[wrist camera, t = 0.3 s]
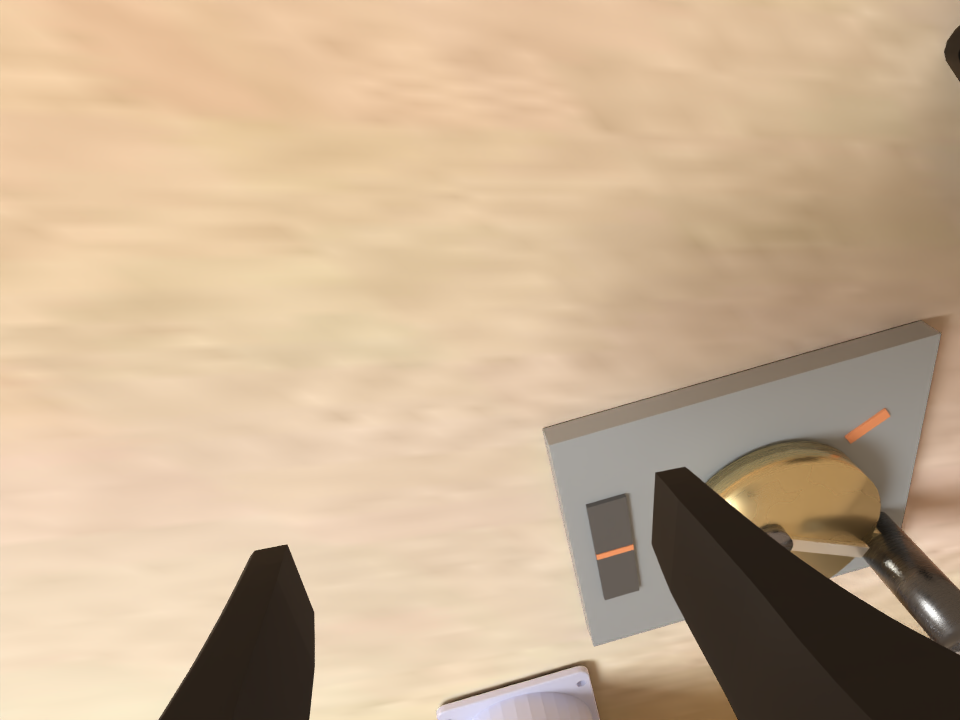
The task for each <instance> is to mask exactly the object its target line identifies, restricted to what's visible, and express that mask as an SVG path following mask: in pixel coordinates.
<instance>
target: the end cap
mask: <svg viewBox="0 0 960 720" xmlns="http://www.w3.org/2000/svg"><path fill="white" fill-rule="evenodd" d="M944 53H945V58H946V61H947V63H948V64H949V66H950V67H951V69H952V70H953V72H954V73H955V75H956V77H957V78H958V80H959V81H960V26H959V27H958V28H957V29H956V30H955V31H954V32H953V34H952V35H951V36H950V38H949V39H948V41H947V44H946V47H945V51H944Z"/></svg>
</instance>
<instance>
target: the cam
mask: <svg viewBox="0 0 960 720" xmlns="http://www.w3.org/2000/svg"><path fill="white" fill-rule="evenodd" d="M706 484H707V485H708V486H709V487H710V488H712V489H713V490H714V491H715V492H716V493H717V494H719V495H720V496H721V497H722V498H723V499H725V500H726V501H727V502H728V503H729V504H731V505H732V506H733V507H734V508H735V509H737V510H738V511H739V512H740V513H742V514H743V515H744V516H745V517H746V518H748V519H749V520H750V521H751V522H753V523H754V524H755V525H757V526H758V527H759V528H760V529H762V530H763V531H764V532H766V533H767V534H768V535H769V536H771V537H772V538H773V539H775V540H776V541H777V542H779V543H780V544H781V545H782V546H784V547H785V548H786V549H788V550H789V551H790V552H792V553H793V554H795V555H796V556H797V557H799V558H800V559H801V560H803V561H804V562H806V563H807V564H808V565H810V566H811V567H813V568H814V569H816V570H817V571H818V572H820V573H821V574H823V575H824V576H826V577H827V578H828V579H829V578H831V577H832V576H834V575H835V574H837V573H838V572H839V571H840V570H842V569H843V568H844V567H845V566H847V565H848V564H849V563H850V562H851V561H852V560H853V559H854V558H855V557H860V558H862V557H863V558H864V560H865V561H866V562H867V563H868V564H869V566H870V567H871V568H872V569H873V570H874V571H875V573H876V574H877V575H878V576H879V577H880V579H881V580H882V581H883V582H884V583H885V584H886V586H887V587H888V588H889V589H890V590H891V592H892V593H893V594H894V595H895V596H896V597H897V599H898V600H899V601H900V602H901V603H902V605H903V606H904V607H905V608H906V609H907V610H908V612H909V613H910V614H911V615H912V616H913V618H914V619H915V620H916V621H917V622H918V623H919V625H920V626H921V627H922V628H923V629H924V631H925V632H926V633H927V634H928V635H929V637H930V638H931V639H932V640H933V641H935V642H936V643H938V644H940V645H942V646H944V647H946V648H948V649H950V650H952V651H953V652H955V653H956V652H960V590H959V589H958V588H957V587H956V586H955V585H954V584H953V583H952V582H951V581H950V580H949V579H948V578H947V576H946V575H945V574H944V573H943V572H942V571H941V570H940V569H939V568H938V567H937V566H936V565H935V564H934V563H933V562H932V561H931V560H930V559H929V558H928V557H927V556H926V555H925V553H924V552H923V551H922V550H921V549H920V548H919V547H918V546H917V545H916V544H915V543H914V542H913V541H912V540H911V539H910V538H909V537H908V536H907V535H906V534H905V533H904V531H903V530H902V529H901V528H900V527H899V526H898V525H897V524H896V523H895V522H894V521H893V520H892V519H891V518H890V517H889V516H888V515H887V514H886V513H884V512H880V509H881V502H880V496H879V493H878V490H877V488H876V486H875V485H874V483H873V482H872V481H871V480H870V479H869V478H868V477H867V476H866V475H865V474H864V473H863V472H862V471H861V470H860V469H859V468H858V467H857V466H856V465H855V464H854V463H853V462H852V461H851V460H850V459H849V458H848V457H847V456H846V455H845V454H844V453H843V452H841V451H840V450H838V449H837V448H834V447H832V446H830V445H827V444H823V443H818V442H809V441H798V442H788V443H781V444H777V445H773V446H769V447H766V448H763V449H760V450H757V451H755V452H753V453H750V454H748V455H746V456H744V457H742V458H740V459H738V460H736V461H734V462H733V463H731V464H729V465H728V466H726V467H725V468H723V469H722V470H720V471H719V472H718V473H717V474H715V475H714V476H713V477H712V478H710V479H709V480H708V481H707V482H706Z"/></svg>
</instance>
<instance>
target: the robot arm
mask: <svg viewBox="0 0 960 720" xmlns="http://www.w3.org/2000/svg"><path fill="white" fill-rule="evenodd" d="M651 544H652V547H653V550H654V552H655V555H656V557H657V560H658V563H659V565H660V568H661V570H662V573H663V575H664V578H665V580H666V583H667V585H668V587H669V590H670V592H671V594H672V596H673V598H674V600H675V602H676V604H677V606H678V608H679V609H680V611H681V613H682V615H683V617H684V619H685V621H686V623H687V624H688V626H689V628H690V630H691V632H692V634H693V636H694V637H695V639H696V641H697V643H698V645H699V647H700V649H701V650H702V652H703V654H704V656H705V658H706V660H707V661H708V663H709V665H710V667H711V669H712V671H713V673H714V674H715V676H716V678H717V680H718V682H719V684H720V685H721V687H722V689H723V691H724V693H725V695H726V697H727V698H728V701H729V703H730V705H731V707H732V709H733V711H734V713H735V715H736V717H737V719H738V720H960V655H959V654H957V653H955V652H953V651H952V650H950V649H948V648H946V647H944V646H942V645H940V644H938V643H936V642H935V641H933V640H931V639H929V638H927V637H925V636H923V635H921V634H919V633H918V632H916V631H914V630H912V629H910V628H908V627H906V626H905V625H903V624H901V623H899V622H898V621H896V620H894V619H892V618H891V617H889V616H887V615H886V614H884V613H882V612H881V611H879V610H877V609H876V608H874V607H872V606H871V605H869V604H868V603H866V602H864V601H863V600H861V599H859V598H858V597H856V596H854V595H853V594H851V593H850V592H848V591H847V590H845V589H843V588H842V587H840V586H839V585H837V584H836V583H834V582H833V581H831V580H830V579H828V578H827V577H826V576H824V575H823V574H821V573H820V572H818V571H817V570H816V569H814V568H813V567H811V566H810V565H808V564H807V563H806V562H804V561H803V560H801V559H800V558H799V557H797V556H796V555H795V554H793V553H792V552H790V551H789V550H788V549H786V548H785V547H784V546H782V545H781V544H780V543H779V542H777V541H776V540H775V539H773V538H772V537H771V536H769V535H768V534H767V533H766V532H764V531H763V530H762V529H760V528H759V527H758V526H757V525H755V524H754V523H753V522H751V521H750V520H749V519H748V518H746V517H745V516H744V515H743V514H742V513H740V512H739V511H738V510H737V509H735V508H734V507H733V506H732V505H731V504H729V503H728V502H727V501H726V500H725V499H723V498H722V497H721V496H720V495H719V494H717V493H716V492H715V491H714V490H713V489H712V488H710V487H709V486H708V485H707V484H706V483H704V482H703V481H702V480H701V479H700V478H699V477H697V476H696V475H695V474H694V473H693V472H691V471H690V470H689V469H688V468H686V467H681V468H675V469H670V470H665V471H660V472H655V486H654V504H653V523H652V541H651ZM314 668H315V632H314V611H313V608H312V606H311V603H310V601H309V598H308V596H307V593H306V591H305V588H304V585H303V583H302V580H301V578H300V575H299V573H298V570H297V568H296V565H295V563H294V560H293V557H292V555H291V552H290V550H289V547H288V545H282V546H276V547H271V548H266V549H261V550H256V551H254V552H253V554H252V555H251V556H250V558H249V560H248V562H247V564H246V566H245V568H244V570H243V572H242V574H241V576H240V578H239V580H238V582H237V584H236V586H235V588H234V590H233V592H232V594H231V596H230V598H229V600H228V602H227V604H226V606H225V608H224V609H223V611H222V613H221V615H220V617H219V619H218V621H217V623H216V624H215V626H214V628H213V630H212V632H211V633H210V635H209V637H208V639H207V640H206V642H205V644H204V646H203V648H202V649H201V651H200V653H199V655H198V656H197V658H196V660H195V662H194V663H193V665H192V667H191V668H190V670H189V672H188V673H187V675H186V677H185V678H184V680H183V681H182V683H181V685H180V686H179V688H178V689H177V691H176V693H175V694H174V696H173V698H172V699H171V701H170V702H169V704H168V706H167V707H166V709H165V710H164V712H163V714H162V715H161V717H160V718H159V720H309V716H310V707H311V697H312V688H313V678H314ZM436 712H437V719H438V720H600V717H599V713H598V709H597V705H596V701H595V697H594V692H593V688H592V684H591V680H590V676H589V672H588V669H587V668H586V667H584V666H576V667H572V668H569V669H565V670H562V671H559V672H555V673H552V674H548V675H545V676H541V677H538V678H534V679H531V680H528V681H524V682H521V683H517V684H514V685H510V686H507V687H504V688H500V689H497V690H493V691H490V692H486V693H483V694H479V695H476V696H473V697H469V698H466V699H462V700H459V701H455V702H452V703H449V704H445V705H442V706H440V707H439V708H438V709H437V711H436Z"/></svg>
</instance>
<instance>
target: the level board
mask: <svg viewBox="0 0 960 720" xmlns="http://www.w3.org/2000/svg"><path fill="white" fill-rule="evenodd" d="M940 337H941V333H940V332H939V331H937V330H935V329H934V328H932V327H931V326H929V325H928V324H926V323H925V322H923V321H917V322H914V323H910V324H907V325H903V326H900V327H896V328H893V329H889V330H886V331H882V332H879V333H875V334H872V335H868V336H865V337H861V338H858V339H855V340H851V341H848V342H844V343H841V344H837V345H834V346H830V347H827V348H823V349H820V350H816V351H813V352H809V353H806V354H802V355H799V356H795V357H792V358H788V359H785V360H781V361H778V362H774V363H771V364H767V365H764V366H760V367H757V368H753V369H750V370H746V371H743V372H739V373H736V374H732V375H729V376H725V377H722V378H718V379H715V380H711V381H708V382H704V383H701V384H697V385H694V386H690V387H687V388H683V389H680V390H676V391H673V392H669V393H666V394H662V395H659V396H655V397H652V398H648V399H645V400H641V401H638V402H634V403H631V404H627V405H624V406H620V407H617V408H613V409H610V410H606V411H603V412H599V413H596V414H592V415H589V416H585V417H582V418H578V419H575V420H571V421H568V422H564V423H561V424H557V425H554V426H550V427H547V428H543V433H544V438H545V442H546V446H547V451H548V455H549V460H550V464H551V468H552V473H553V477H554V482H555V486H556V491H557V495H558V499H559V504H560V508H561V513H562V517H563V521H564V526H565V530H566V535H567V539H568V543H569V548H570V552H571V557H572V561H573V566H574V570H575V574H576V579H577V583H578V588H579V592H580V596H581V601H582V605H583V610H584V614H585V619H586V623H587V627H588V631H589V633H590V636H591V639H592V642H593V645H594V646H598V645H601V644H605V643H608V642H611V641H615V640H618V639H622V638H625V637H629V636H632V635H636V634H639V633H642V632H646V631H649V630H653V629H656V628H660V627H663V626H667V625H670V624H673V623H677V622H680V621H684V620H685V619H684V617H683V615H682V613H681V611H680V609H679V608H678V606H677V604H676V602H675V600H674V598H673V596H672V594H671V592H670V590H669V587H668V585H667V583H666V580H665V578H664V575H663V573H662V570H661V568H660V565H659V563H658V560H657V557H656V555H655V552H654V550H653V547H652V544H651V541H652V523H653V504H654V486H655V472H660V471H665V470H670V469H675V468H681V467H686V468H688V469H689V470H690V471H691V472H693V473H694V474H695V475H696V476H697V477H699V478H700V479H701V480H702V481H703V482H704V483H706V482H707V481H708V480H709V479H710V478H712V477H713V476H714V475H715V474H717V473H718V472H719V471H720V470H722V469H723V468H725V467H726V466H728V465H729V464H731V463H733V462H734V461H736V460H738V459H740V458H742V457H744V456H746V455H748V454H750V453H753V452H755V451H757V450H760V449H763V448H766V447H769V446H773V445H777V444H781V443H788V442H798V441H809V442H818V443H823V444H827V445H830V446H832V447H834V448H837V449H838V450H840V451H841V452H843V453H844V454H845V455H846V456H847V457H848V458H849V459H850V460H851V461H852V462H853V463H854V464H855V465H856V466H857V467H858V468H859V469H860V470H861V471H862V472H863V473H864V474H865V475H866V476H867V477H868V478H869V479H870V480H871V481H872V482H873V483H874V485H875V486H876V488H877V490H878V493H879V496H880V502H881V509H880V512H884V513H886V514H887V515H888V516H889V517H890V518H891V519H892V520H893V521H894V522H895V523H896V524H897V525H898V526H899V527H900V528H902V523H903V518H904V513H905V508H906V503H907V498H908V493H909V489H910V484H911V479H912V474H913V469H914V464H915V459H916V454H917V449H918V445H919V440H920V435H921V430H922V425H923V420H924V415H925V410H926V405H927V401H928V396H929V391H930V386H931V381H932V376H933V371H934V366H935V361H936V357H937V352H938V347H939V342H940ZM866 567H870V566H869V564H868V563H867V562H866V561H865V560H864V558H863V557H862V558H860V557H855V558H854V559H853V560H852V561H851V562H850V563H849V564H848V565H847V566H845V567H844V568H843V569H842V570H840V571H839V572H838V573H837V574H835V575H834V576H832V577H835V576H839V575H842V574H845V573H849V572H852V571H856V570H859V569H863V568H866ZM832 577H831V578H832Z"/></svg>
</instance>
